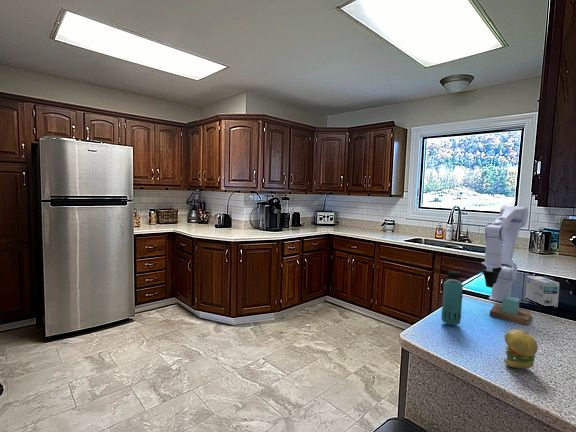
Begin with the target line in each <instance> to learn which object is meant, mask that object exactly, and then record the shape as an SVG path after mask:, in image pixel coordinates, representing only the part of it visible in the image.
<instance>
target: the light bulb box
mask: <svg viewBox="0 0 576 432" xmlns="http://www.w3.org/2000/svg"><path fill="white" fill-rule="evenodd" d="M525 284H526V285H525V298H528V299H530V300H532V301H534V302H537V303H539V304H541V305H544V306H554V307H553V308H558V307H559V306H558V305H559V293H560V284H561V283H560V282H558V281H554V280H551V279H549V278H547V277H546V278H545V277H543V276H538V275H537V276H535V275H534V276H533V275H532V276H531V275H526V283H525ZM528 299H527V300H528ZM530 300H529V301H530ZM532 301H531V302H532ZM534 302H533V303H534Z"/></svg>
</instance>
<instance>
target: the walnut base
mask: <svg viewBox="0 0 576 432" xmlns="http://www.w3.org/2000/svg"><path fill="white" fill-rule="evenodd" d="M531 314H532V310H529V309H524V308H520V307H519V311H518V313H517V314H513V313H508V312H504V311H502V303H495V302H494V305H493V306H492V308H491V309H490V310H489V316H490V317H491V318H496V319H500V320H504V321H509V322H513V323H515V324H516V323H517V324H522V325H525V326H528V325H529V322H530V319H531V316H532V315H531Z"/></svg>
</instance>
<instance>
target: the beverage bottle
mask: <svg viewBox="0 0 576 432" xmlns="http://www.w3.org/2000/svg"><path fill="white" fill-rule="evenodd" d="M447 278H450V279H446V280H445V281H444V282H443V293H442V294H443V295H442V304H441V306H442V307H441V321H442V322H443V323H445V324H448V325H453V326H454V325H455V326H457V325H460V324H461V322H462V321H461V318H462V306H463V305H462V304H463V303H462V302H463V289H464V288H463V287H464V285H463V283H462V282H461V281H460V279H461V272H460V271H457V270H449V271H447Z"/></svg>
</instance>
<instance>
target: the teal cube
mask: <svg viewBox="0 0 576 432" xmlns="http://www.w3.org/2000/svg"><path fill="white" fill-rule="evenodd" d="M501 305H502V311H504V312H508V313H513V314H517V313H518V311H519V308H520V298H519V297H513V296H510V297H509V296H504V297H503V299H502V302H501Z"/></svg>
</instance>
